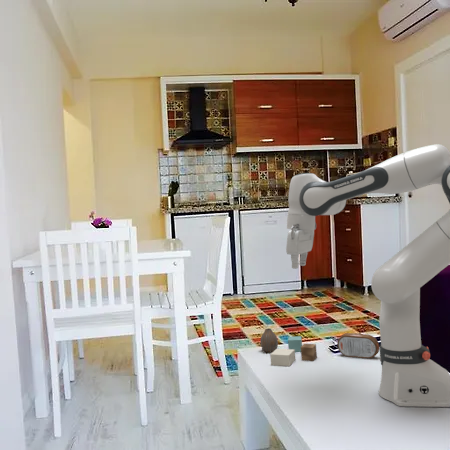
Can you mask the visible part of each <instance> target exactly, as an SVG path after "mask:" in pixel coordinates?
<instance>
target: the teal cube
mask: <svg viewBox="0 0 450 450" xmlns="http://www.w3.org/2000/svg"><path fill="white" fill-rule="evenodd" d="M287 344H288V349H294V350H295V354H297V353H296V352H300V353H301V346H302V345H303V340H302V336H300V335H299V336H297V335H296V336H288V339H287Z"/></svg>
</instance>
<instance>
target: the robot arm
mask: <svg viewBox="0 0 450 450" xmlns="http://www.w3.org/2000/svg"><path fill="white" fill-rule="evenodd" d="M430 185H440V186H441V187H442V191H443V193H444V194H445V197H446V199H447V200H448V203H449V204H450V150H449V149H448V147H446V146H445V145H443V144H441V143H440V144H439V143H435V144H430V145H425V146H421V147H418V148H414V149H410V150H407V151H405V152H402V153H399V154H397V155H395V156H393V157H390V158H387V159H386V160H384V161H382V162H380V163H378V164H376V165H374V166H371V167H369V168H367V169H365V170H362V171H359V172H356V173H353V174H350V175H347V176H344V177H342V178H341V177H340V178H339V179H336V180H332V181H326V180H323V179H322V178H320V177H318V176H317V175H316V174H315V173H313V172H303V173H298V174H295V175H294V176H292V178H291V179H290V183H289V189H288V198H287V199H288V200H287V201H288V211H287V216H286V217H287V220H286V222H287V223H286V229H288V232H287V237H286V247H285V249H286V254H287V255H290V261H291V268H292V269H296V270H297V269H299V266H300V267H301V266H302V267H305V266H306V264H307V263H306V262H307V257H308V253H309V252H311V251H312V249H313V245H314V239H315V238H314V237H315V230H316V229H317V223H316V217H317V216H334V215H336V214H337V215H338V214H339V213H341V212H342V211H344V209H345V207H346V205H347V200H349V199H354V198H356V197H359V196H363V195H367V194H387V195H395V194H404V193H407V192H408V193H409V192H411V191H415V190H418V189H421V188H424V187H428V186H430ZM299 255H300V258H299ZM449 265H450V209H448V211H447V212H446V213H445V214H444V215H442V216H441V217H440V218H439V219H437V220H436V221H435V222H434V223H433V224H432V225H430V226H429V227H427V228H426V229H425V230H424V231H423V232H422V233H420V234H419V235H418V236H417V237H415V238H414V239H412V240H411V241H410V242H409V243H408V244H407V245H405V246H404V247H403V248H401V250H399V251H398V252H396V254H394V255H393V256H391V258H389V259H387V261H386V262H384V263H383V264H382V265H380V266H379V267H378V268H377V269H376V270H375V272H374V273H373V275H372V278H371V284H370V285H371V290H372V293H373V295H374V296H375V298H377V299H378V300H379V301H380V310H379V311H380V312H379V318H378V320H379V321H378V323H379V334H380V335H379V336H380V344H379V346H380V349H379V359H380V365H381V378H380V385H379V390H378V395H379V396H380V397H381V398H382V399H385V400H386V401H390V402H391V403H393V404H395V405H396V406H398V407H419V408H420V407H421V408H422V407H425V408H426V407H429V408H431V407H432V408H433V407H434V408H441V407H443V408H450V372H449V371H448V370H447V369H446V368H444V367H443V366H441V365H440V364H438V363H437V362H435V361H434V360H432V359H430V358H431V352H430V349H429V347H428V346H424V345H423V344H422V340H421V339H422V337H421V323H420V322H421V321H420V315H421V313H420V309H421V307H420V306H421V288H422V287H423V286H424V285H425V284H427V283H428V282H429V281H431V280H432V279H433V278H434V277H435V276H437V275H438V274H440V272H441V271H443V270H444V269H445V268H447V267H448V266H449Z"/></svg>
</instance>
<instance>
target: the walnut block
mask: <svg viewBox="0 0 450 450" xmlns="http://www.w3.org/2000/svg"><path fill="white" fill-rule="evenodd" d="M317 352H318V351H317V344H316V343H302V346H301V352H300V357H301V361H304V362H305V361H307V362H314V361H315V360H316V359H317V358H318V356H317V354H318V353H317Z"/></svg>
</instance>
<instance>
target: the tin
mask: <svg viewBox="0 0 450 450" xmlns="http://www.w3.org/2000/svg"><path fill="white" fill-rule="evenodd" d="M336 344H337V349H338V350H339V352H340V354H342V355H343V356H345V357H348V358H358V359H373V358H374V357H376V356H377V355H378V354H379V353H380V343H379V341H378V340H377V338H375V337H374V336H373V335H371V334H364V333H363V334H362V333H354V332H353V333H352V332H346V333H342V335H341V336H340V337H339V338H338V340H337V343H336Z"/></svg>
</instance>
